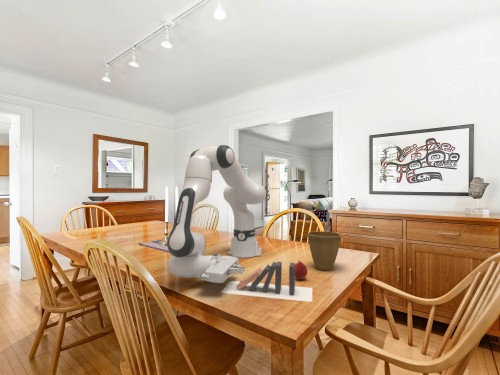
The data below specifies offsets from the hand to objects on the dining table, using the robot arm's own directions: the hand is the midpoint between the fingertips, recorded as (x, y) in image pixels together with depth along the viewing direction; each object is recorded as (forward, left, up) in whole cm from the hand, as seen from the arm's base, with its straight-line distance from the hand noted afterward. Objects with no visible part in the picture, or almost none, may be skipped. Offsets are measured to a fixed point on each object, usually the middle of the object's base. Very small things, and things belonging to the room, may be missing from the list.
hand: (243, 270), depth 99 cm
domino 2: (0, +8, -6) cm, 10 cm away
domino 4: (0, +18, -7) cm, 19 cm away
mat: (0, +9, -7) cm, 11 cm away
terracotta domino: (0, -2, -6) cm, 6 cm away
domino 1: (0, +3, -6) cm, 7 cm away
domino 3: (0, +13, -7) cm, 15 cm away
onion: (-14, +20, -7) cm, 25 cm away
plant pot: (-32, +30, -7) cm, 44 cm away
